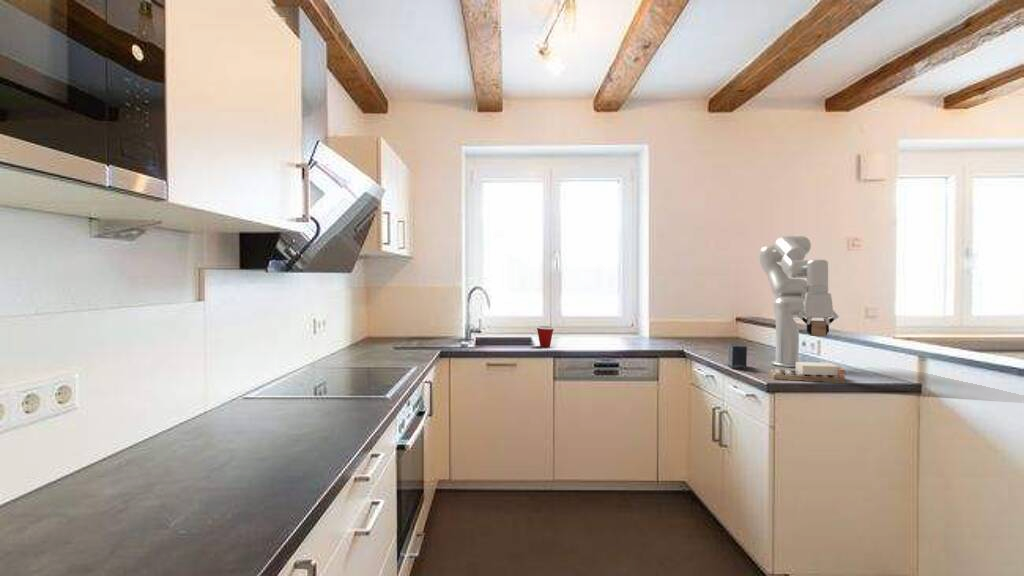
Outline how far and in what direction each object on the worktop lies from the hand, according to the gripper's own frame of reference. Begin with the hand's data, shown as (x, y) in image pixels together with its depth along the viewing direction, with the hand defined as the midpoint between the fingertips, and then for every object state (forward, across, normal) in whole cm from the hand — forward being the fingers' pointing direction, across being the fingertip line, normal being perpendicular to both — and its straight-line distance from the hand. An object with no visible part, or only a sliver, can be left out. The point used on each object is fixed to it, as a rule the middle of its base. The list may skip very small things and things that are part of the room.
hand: (817, 333), depth 211 cm
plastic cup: (+16, -131, +52) cm, 141 cm away
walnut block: (+1, 0, 0) cm, 1 cm away
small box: (+18, -29, +16) cm, 38 cm away
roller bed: (+18, -4, -1) cm, 19 cm away
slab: (+16, -1, -1) cm, 16 cm away
